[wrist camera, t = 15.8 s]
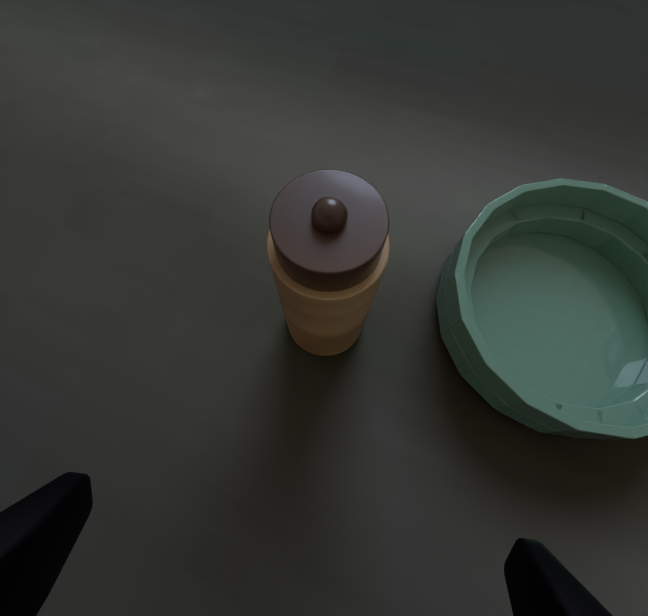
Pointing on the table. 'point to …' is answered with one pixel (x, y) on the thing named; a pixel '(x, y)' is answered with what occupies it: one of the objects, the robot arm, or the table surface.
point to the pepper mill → (327, 256)
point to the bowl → (554, 308)
